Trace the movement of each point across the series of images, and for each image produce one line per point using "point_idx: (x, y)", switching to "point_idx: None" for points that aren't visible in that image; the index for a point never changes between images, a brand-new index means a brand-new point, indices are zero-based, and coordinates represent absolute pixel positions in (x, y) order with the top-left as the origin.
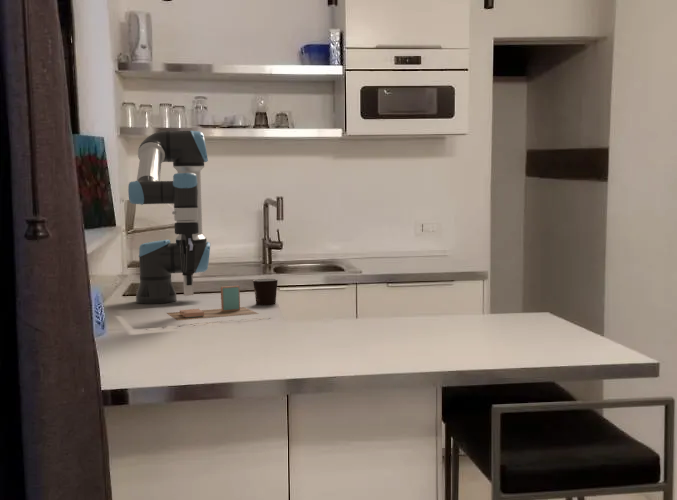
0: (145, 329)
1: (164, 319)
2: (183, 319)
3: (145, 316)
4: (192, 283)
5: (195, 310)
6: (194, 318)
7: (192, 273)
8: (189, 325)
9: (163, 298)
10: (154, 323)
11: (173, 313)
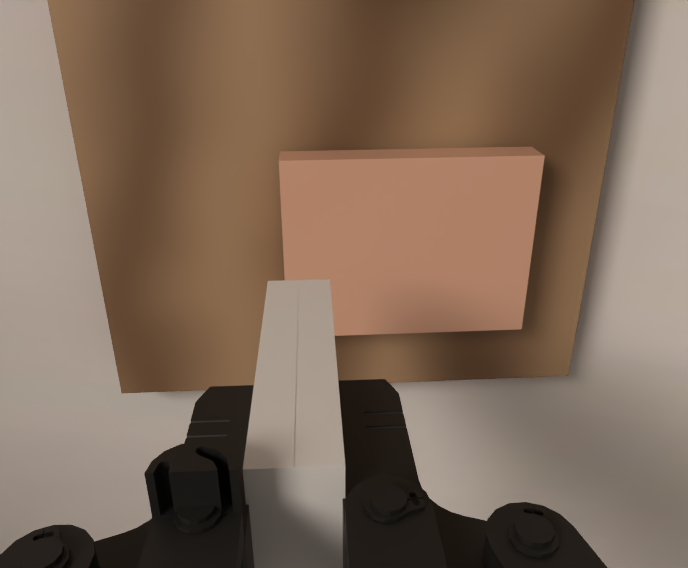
0: (577, 529)
1: None
2: (562, 330)
3: (4, 490)
4: (336, 371)
5: (391, 212)
6: (570, 244)
7: (429, 508)
8: (620, 281)
9: None
10: None
11: (181, 350)
